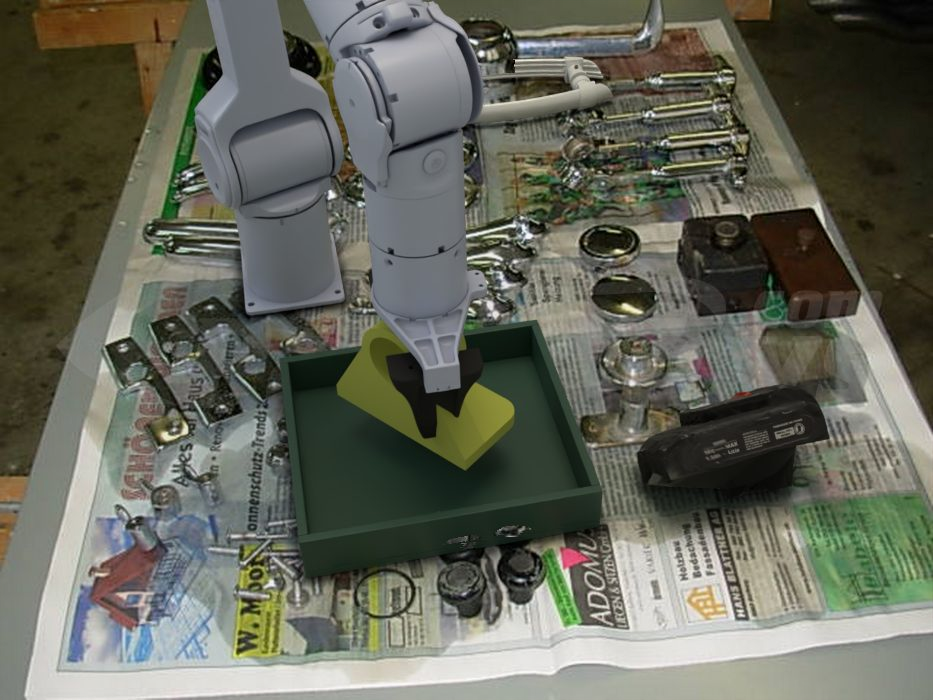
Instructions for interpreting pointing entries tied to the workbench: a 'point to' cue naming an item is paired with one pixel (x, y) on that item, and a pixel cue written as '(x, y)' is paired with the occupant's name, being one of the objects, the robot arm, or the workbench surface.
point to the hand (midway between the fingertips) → (428, 396)
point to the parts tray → (433, 464)
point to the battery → (736, 442)
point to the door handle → (579, 97)
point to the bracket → (455, 437)
